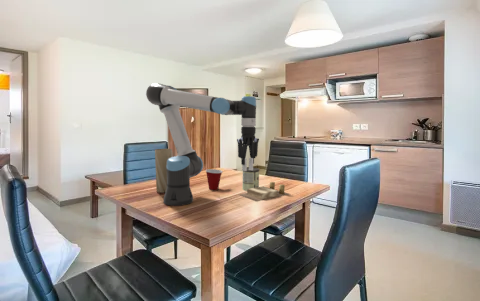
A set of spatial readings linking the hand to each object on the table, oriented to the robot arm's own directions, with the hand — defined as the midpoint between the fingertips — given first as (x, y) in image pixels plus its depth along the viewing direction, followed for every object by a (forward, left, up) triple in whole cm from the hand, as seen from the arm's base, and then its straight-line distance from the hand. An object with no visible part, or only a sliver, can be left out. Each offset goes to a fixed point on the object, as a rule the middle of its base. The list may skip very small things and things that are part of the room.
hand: (247, 170), depth 145 cm
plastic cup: (-1, +32, -17) cm, 36 cm away
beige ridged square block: (+11, 0, -15) cm, 19 cm away
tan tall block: (-28, +45, -17) cm, 55 cm away
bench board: (+13, 0, -17) cm, 21 cm away
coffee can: (+14, +14, -17) cm, 26 cm away
